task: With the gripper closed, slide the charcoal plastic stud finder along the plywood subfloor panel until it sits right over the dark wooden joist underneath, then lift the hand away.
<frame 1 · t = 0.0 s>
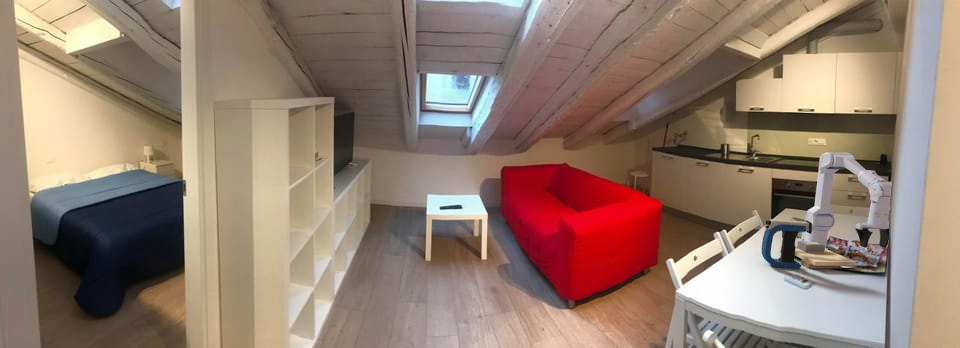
hand: (873, 246, 177), 10 cm above the table, fingers open, 7 cm apart
subfloor: (815, 260, 189), on the table
mug: (802, 237, 221), on the table
stud finder: (810, 250, 192), point 3 cm above the table, touching subfloor
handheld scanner: (782, 266, 183), on the table
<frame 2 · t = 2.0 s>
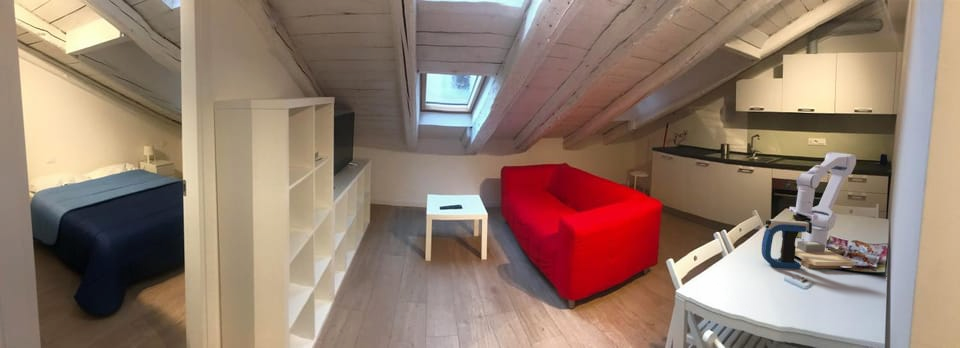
hand: (800, 231, 198), 9 cm above the table, fingers closed
nothing on the table moved.
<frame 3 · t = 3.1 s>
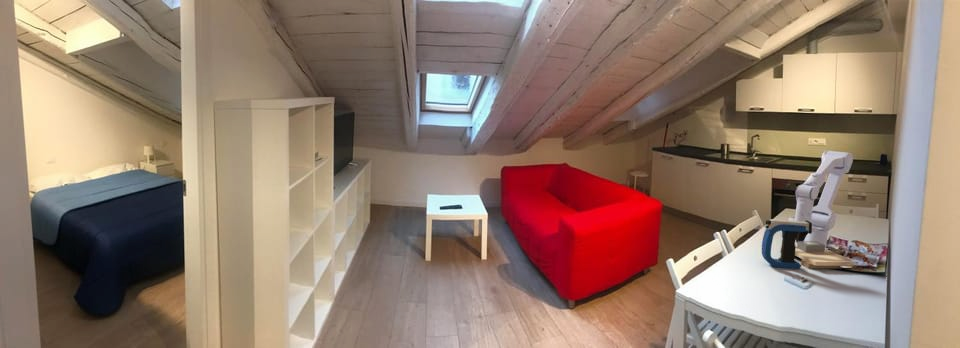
hand: (799, 242, 199), 4 cm above the table, fingers closed
nothing on the table moved.
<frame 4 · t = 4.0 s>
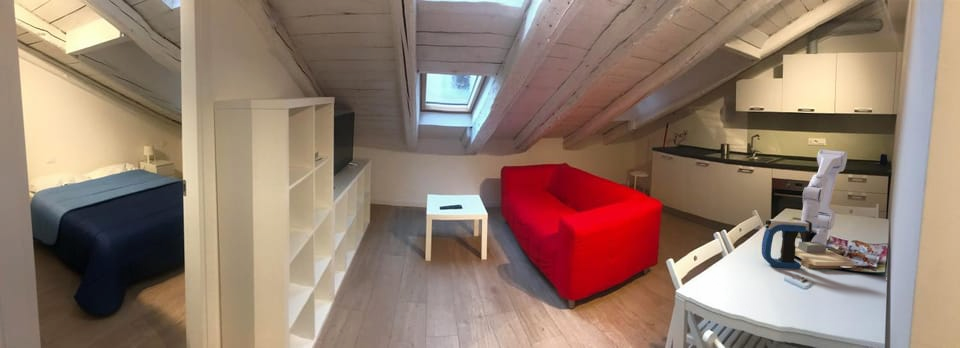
hand: (805, 245, 195), 4 cm above the table, fingers closed
stud finder: (811, 250, 191), point 4 cm above the table, touching gripper
everything else where it was.
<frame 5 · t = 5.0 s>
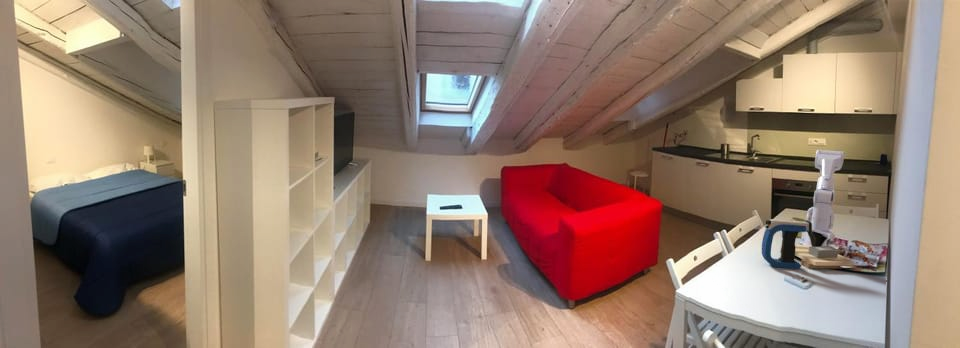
hand: (815, 250, 189), 4 cm above the table, fingers closed
stud finder: (822, 255, 186), point 4 cm above the table, touching gripper
everything else where it was.
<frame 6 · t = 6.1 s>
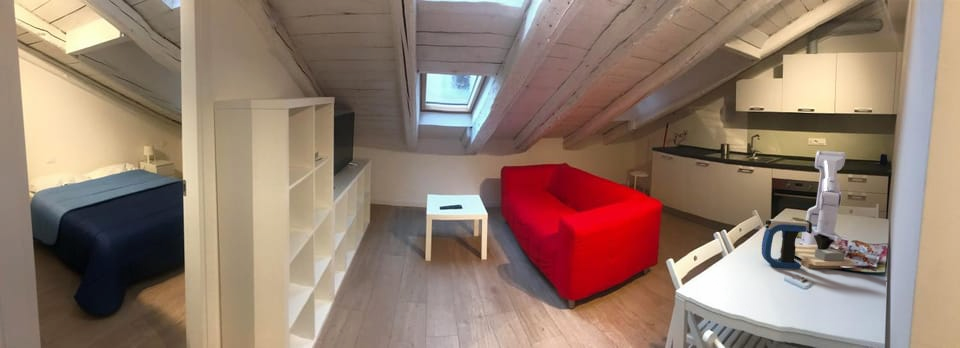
hand: (821, 253, 186), 4 cm above the table, fingers closed
stud finder: (828, 258, 182), point 3 cm above the table, touching gripper, subfloor
everything else where it was.
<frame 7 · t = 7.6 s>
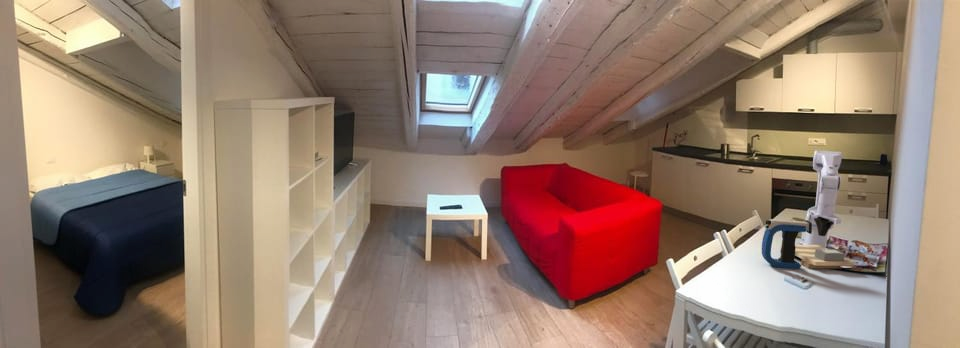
hand: (821, 235, 191), 10 cm above the table, fingers closed
stud finder: (828, 258, 182), point 3 cm above the table, touching subfloor
everything else where it was.
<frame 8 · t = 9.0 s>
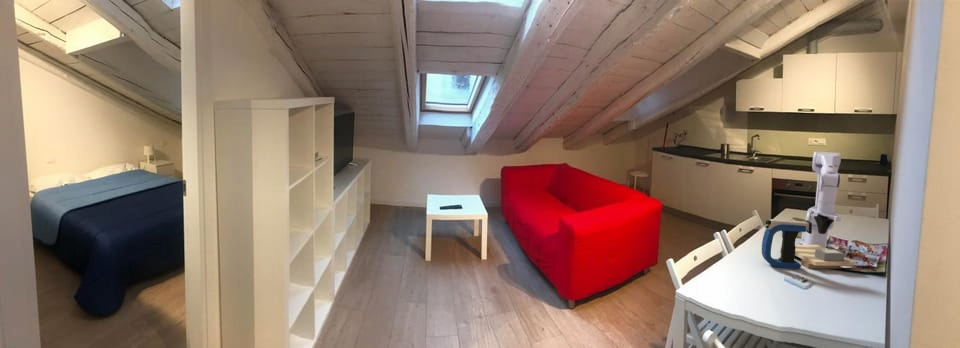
hand: (821, 233, 192), 10 cm above the table, fingers closed
nothing on the table moved.
at the end: stud finder 0.5 cm from the target spot on the subfloor, point 3.5 cm above the subfloor's base; stud finder tilted 0° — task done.
